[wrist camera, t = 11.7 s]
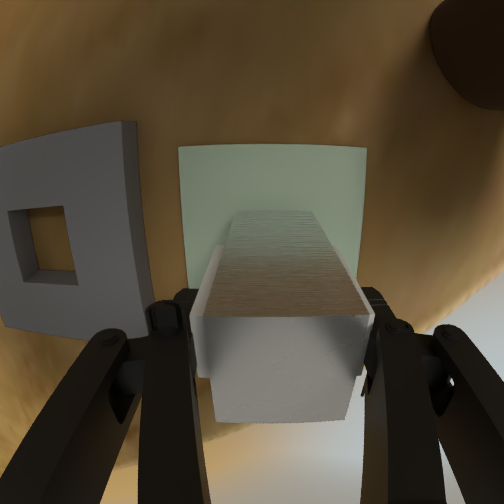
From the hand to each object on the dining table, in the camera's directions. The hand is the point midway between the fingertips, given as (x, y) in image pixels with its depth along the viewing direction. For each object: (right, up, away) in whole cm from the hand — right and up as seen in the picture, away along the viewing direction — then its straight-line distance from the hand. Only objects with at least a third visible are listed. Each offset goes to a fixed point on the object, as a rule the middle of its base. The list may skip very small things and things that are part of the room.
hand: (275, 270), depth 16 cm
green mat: (0, +2, +5) cm, 6 cm away
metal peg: (0, +1, +3) cm, 4 cm away
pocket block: (-17, +2, +6) cm, 18 cm away
